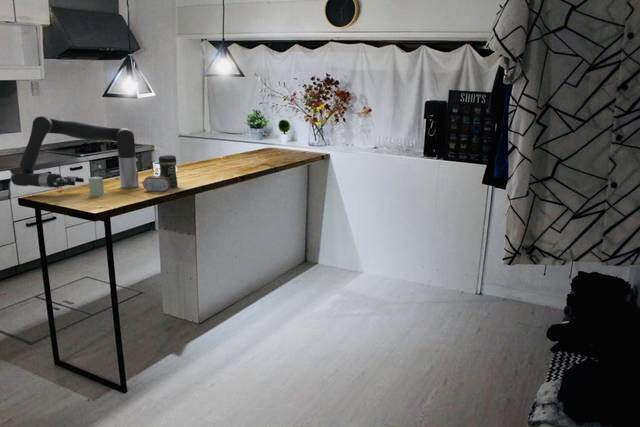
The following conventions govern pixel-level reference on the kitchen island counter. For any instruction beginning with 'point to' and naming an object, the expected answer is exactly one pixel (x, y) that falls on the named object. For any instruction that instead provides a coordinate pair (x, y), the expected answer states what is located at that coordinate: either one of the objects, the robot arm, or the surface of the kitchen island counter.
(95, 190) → the sage block
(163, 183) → the tin
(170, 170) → the coffee jar
